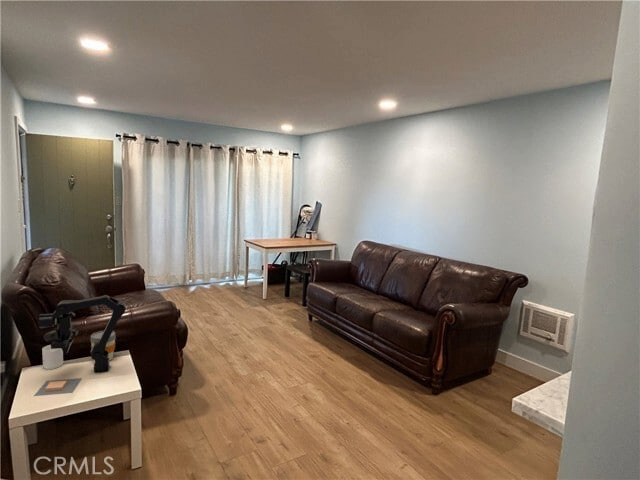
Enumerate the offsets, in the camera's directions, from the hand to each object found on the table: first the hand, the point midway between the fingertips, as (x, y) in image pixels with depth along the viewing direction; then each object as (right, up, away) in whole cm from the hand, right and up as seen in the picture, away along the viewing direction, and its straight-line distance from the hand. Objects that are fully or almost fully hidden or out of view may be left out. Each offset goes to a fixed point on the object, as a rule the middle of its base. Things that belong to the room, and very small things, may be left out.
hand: (65, 354), depth 190 cm
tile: (+2, -12, -8) cm, 14 cm away
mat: (+4, -14, -9) cm, 17 cm away
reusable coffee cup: (+7, -10, +21) cm, 25 cm away
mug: (-15, -10, +11) cm, 21 cm away
